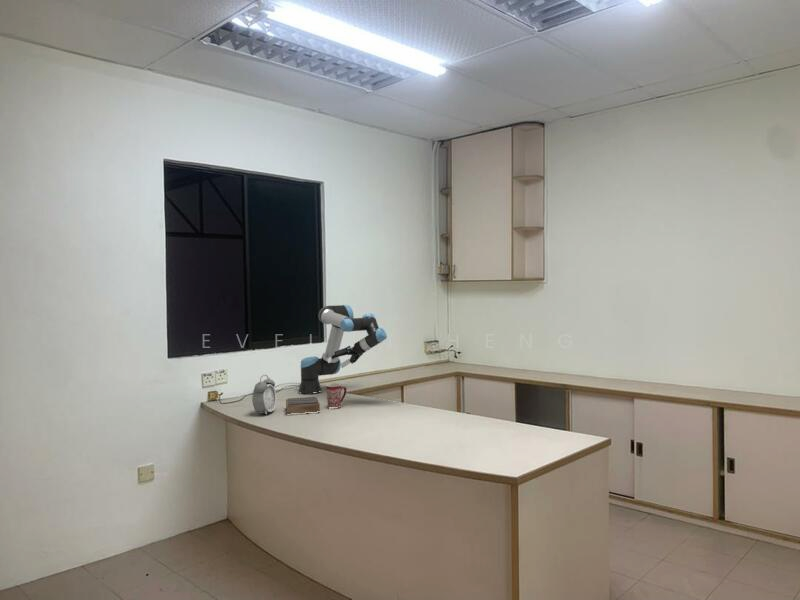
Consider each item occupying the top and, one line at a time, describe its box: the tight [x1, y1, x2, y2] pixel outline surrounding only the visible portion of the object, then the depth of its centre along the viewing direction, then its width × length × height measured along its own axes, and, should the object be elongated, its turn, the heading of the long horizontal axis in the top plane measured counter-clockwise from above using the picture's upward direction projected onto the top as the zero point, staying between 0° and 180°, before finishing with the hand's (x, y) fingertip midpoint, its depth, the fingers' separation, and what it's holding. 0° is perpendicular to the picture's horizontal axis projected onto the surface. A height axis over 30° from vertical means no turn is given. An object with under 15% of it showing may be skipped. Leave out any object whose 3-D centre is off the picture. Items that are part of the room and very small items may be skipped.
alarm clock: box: [251, 374, 277, 415], centre depth 312 cm, size 16×9×22 cm, turn 168°
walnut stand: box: [285, 396, 321, 415], centre depth 318 cm, size 18×18×6 cm
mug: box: [325, 383, 347, 408], centre depth 325 cm, size 13×9×14 cm
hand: (334, 363), depth 331 cm, fingers open, 13 cm apart
